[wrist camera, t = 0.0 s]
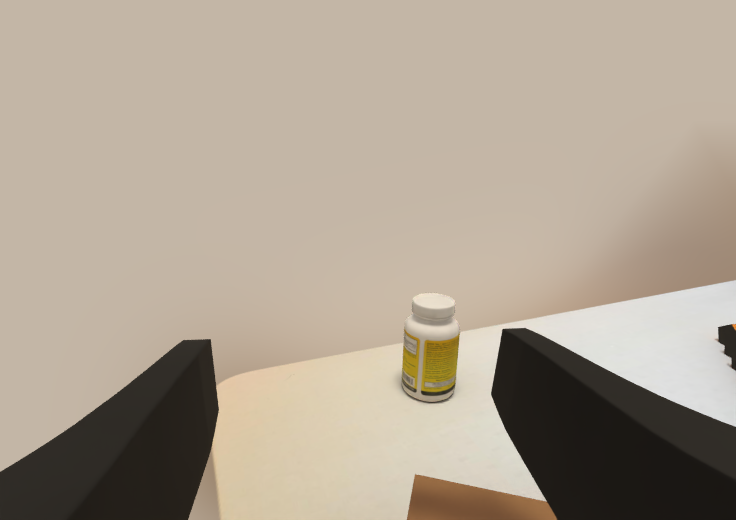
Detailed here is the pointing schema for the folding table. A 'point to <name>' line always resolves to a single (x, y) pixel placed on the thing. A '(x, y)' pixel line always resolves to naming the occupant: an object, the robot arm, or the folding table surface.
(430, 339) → the pill bottle
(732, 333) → the pan flute
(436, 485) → the carton
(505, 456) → the folding table surface
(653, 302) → the folding table surface
